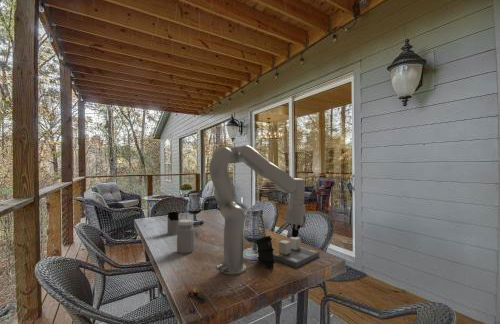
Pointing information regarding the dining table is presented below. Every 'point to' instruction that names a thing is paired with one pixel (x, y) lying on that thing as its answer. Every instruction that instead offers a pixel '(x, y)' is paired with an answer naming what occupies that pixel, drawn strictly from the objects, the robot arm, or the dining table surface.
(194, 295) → the composite cable
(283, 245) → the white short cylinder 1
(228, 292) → the dining table surface
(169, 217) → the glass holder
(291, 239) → the beige cylinder
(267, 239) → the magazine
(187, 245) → the jar
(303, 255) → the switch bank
